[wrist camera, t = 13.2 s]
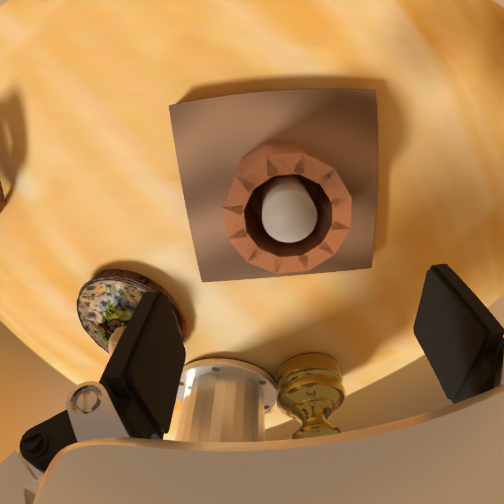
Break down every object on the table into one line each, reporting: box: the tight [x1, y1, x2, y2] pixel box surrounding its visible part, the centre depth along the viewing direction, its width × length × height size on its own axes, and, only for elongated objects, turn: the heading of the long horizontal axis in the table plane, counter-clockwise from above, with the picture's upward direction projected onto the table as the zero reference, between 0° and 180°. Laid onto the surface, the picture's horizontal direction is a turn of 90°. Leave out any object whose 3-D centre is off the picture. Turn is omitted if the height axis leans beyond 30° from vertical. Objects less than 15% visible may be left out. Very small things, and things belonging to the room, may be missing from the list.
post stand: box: [169, 89, 378, 282], centre depth 19 cm, size 14×14×6 cm
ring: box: [222, 141, 352, 274], centre depth 18 cm, size 7×7×5 cm
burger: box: [77, 269, 186, 355], centre depth 26 cm, size 12×12×8 cm
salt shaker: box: [276, 353, 346, 439], centre depth 27 cm, size 7×7×10 cm
